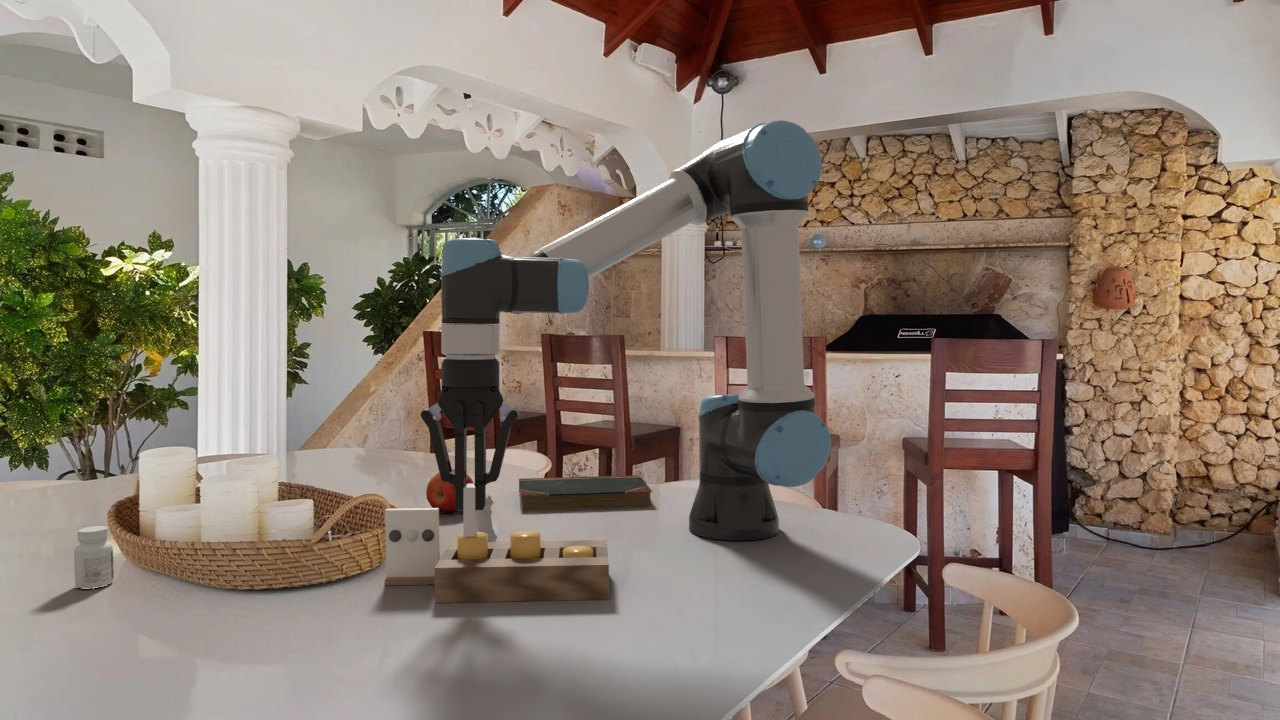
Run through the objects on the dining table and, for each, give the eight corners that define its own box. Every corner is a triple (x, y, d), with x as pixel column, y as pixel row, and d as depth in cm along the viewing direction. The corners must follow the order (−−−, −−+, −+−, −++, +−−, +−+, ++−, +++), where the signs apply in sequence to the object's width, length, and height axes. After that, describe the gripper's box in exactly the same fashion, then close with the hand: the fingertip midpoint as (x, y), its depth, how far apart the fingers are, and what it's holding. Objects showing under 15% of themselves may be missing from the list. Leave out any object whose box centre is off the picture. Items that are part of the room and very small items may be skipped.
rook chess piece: (491, 551, 132) (491, 500, 131) (464, 550, 132) (463, 498, 132) (502, 543, 136) (501, 494, 135) (475, 542, 137) (475, 493, 136)
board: (606, 571, 121) (606, 540, 121) (608, 599, 109) (608, 564, 109) (450, 574, 120) (449, 542, 120) (434, 603, 108) (434, 567, 108)
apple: (481, 510, 159) (481, 468, 158) (449, 519, 152) (448, 475, 151) (450, 505, 163) (450, 464, 163) (417, 514, 156) (417, 470, 156)
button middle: (541, 561, 117) (541, 530, 116) (539, 569, 113) (539, 538, 112) (511, 561, 116) (511, 531, 116) (509, 570, 112) (508, 538, 112)
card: (441, 577, 118) (440, 506, 118) (437, 584, 115) (436, 511, 115) (389, 578, 118) (388, 507, 117) (384, 585, 115) (383, 512, 114)
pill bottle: (121, 582, 116) (119, 526, 116) (91, 592, 112) (89, 534, 112) (97, 579, 118) (96, 523, 117) (67, 588, 114) (65, 531, 113)
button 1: (489, 562, 116) (489, 531, 116) (486, 570, 112) (485, 539, 112) (460, 562, 116) (459, 531, 116) (455, 571, 112) (455, 539, 112)
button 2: (592, 575, 117) (592, 545, 117) (592, 585, 113) (592, 553, 113) (563, 576, 117) (563, 546, 117) (562, 585, 113) (562, 554, 113)
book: (520, 514, 159) (652, 509, 162) (519, 494, 158) (652, 490, 162) (518, 494, 176) (638, 490, 180) (518, 477, 176) (638, 473, 179)
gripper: (522, 356, 117) (521, 526, 118) (425, 355, 116) (426, 527, 117) (518, 358, 109) (517, 541, 110) (414, 358, 108) (415, 541, 110)
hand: (470, 533), depth 114 cm, fingers closed
